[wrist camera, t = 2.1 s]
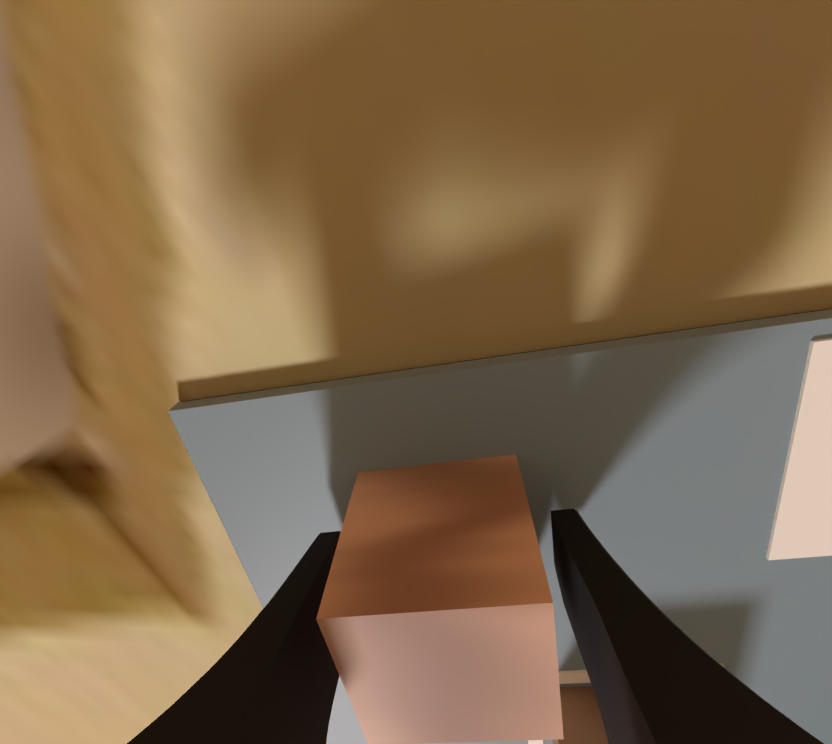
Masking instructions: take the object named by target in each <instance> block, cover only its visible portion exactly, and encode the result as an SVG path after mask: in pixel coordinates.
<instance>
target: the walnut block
mask: <svg viewBox="0 0 832 744" xmlns="http://www.w3.org/2000/svg"><path fill="white" fill-rule="evenodd" d="M560 698H561V711H562V724H563V737H564V739H558V740H553V744H609V743H608V740H607V736H606V732H605V728H604V724H603V720H602V717H601V713H600V710H599V706H598V703H597V700H596V697H595V693H594V691H593V688H592V686H584V687H561V688H560Z"/></svg>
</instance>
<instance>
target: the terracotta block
mask: <svg viewBox="0 0 832 744" xmlns="http://www.w3.org/2000/svg"><path fill="white" fill-rule="evenodd" d="M316 620H317V622H318V625H319V627H320V630H321V632H322V634H323V637H324V639H325V642H326V644H327V646H328V649H329V651H330V654H331V656H332V658H333V661H334V663H335V666H336V668H337V670H338V673H339V675H340V678H341V680H342V683H343V685H344V687H345V690H346V692H347V695H348V697H349V699H350V702H351V704H352V707H353V709H354V711H355V714H356V716H357V719H358V721H359V723H360V726H361V728H362V731H363V733H364V735H365V738H366V740H367V743H368V744H421V743H455V742H490V741H524V740H558V739H564V737H563V724H562V711H561V698H560V685H559V672H558V659H557V646H556V633H555V620H554V607H553V600H552V596H551V592H550V588H549V584H548V580H547V576H546V572H545V568H544V564H543V560H542V556H541V552H540V548H539V544H538V540H537V536H536V532H535V528H534V524H533V520H532V516H531V512H530V508H529V504H528V500H527V496H526V492H525V488H524V484H523V480H522V476H521V472H520V468H519V464H518V460H517V456H516V454H514V455H505V456H496V457H488V458H479V459H470V460H461V461H452V462H444V463H435V464H426V465H417V466H408V467H400V468H391V469H382V470H373V471H364V472H358V473H357V477H356V480H355V484H354V487H353V491H352V494H351V498H350V501H349V505H348V508H347V512H346V516H345V519H344V523H343V526H342V530H341V533H340V537H339V540H338V544H337V547H336V551H335V554H334V558H333V561H332V565H331V568H330V572H329V575H328V579H327V582H326V586H325V590H324V593H323V597H322V600H321V604H320V607H319V611H318V614H317V618H316Z"/></svg>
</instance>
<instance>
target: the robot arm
mask: <svg viewBox="0 0 832 744" xmlns="http://www.w3.org/2000/svg"><path fill="white" fill-rule="evenodd" d="M551 525H552V539H553V553H554V565H555V570H556V574H557V578H558V583H559V587H560V591H561V595H562V599H563V603H564V606H565V609H566V612H567V615H568V618H569V621H570V624H571V627H572V630H573V633H574V636H575V638H576V641H577V644H578V647H579V650H580V653H581V656H582V659H583V662H584V664H585V667H586V670H587V673H588V676H589V679H590V682H591V685H592V688H593V691H594V693H595V697H596V700H597V703H598V706H599V710H600V713H601V717H602V720H603V724H604V728H605V732H606V736H607V740H608V743H609V744H824V743H822V742H821V741H820V740H818V739H817V738H815V737H814V736H813V735H811V734H810V733H808V732H807V731H805V730H804V729H803V728H801V727H800V726H799V725H797V724H796V723H795V722H793V721H792V720H791V719H789V718H788V717H786V716H785V715H784V714H782V713H781V712H780V711H778V710H777V709H776V708H774V707H773V706H772V705H770V704H769V703H768V702H766V701H765V700H764V699H763V698H761V697H760V696H759V695H758V694H756V693H755V692H754V691H753V690H751V689H750V688H749V687H748V686H746V685H745V684H744V683H743V682H741V681H740V680H739V679H738V678H736V677H735V676H734V675H733V674H732V673H730V672H729V671H728V670H727V669H725V668H724V667H723V666H722V665H720V664H719V663H718V662H717V661H716V660H714V659H713V658H712V657H711V656H710V655H709V654H707V653H706V652H705V651H704V650H703V649H702V648H701V647H700V646H698V645H697V644H696V643H695V642H694V641H693V640H692V639H690V638H689V637H688V636H687V635H686V634H685V633H684V632H683V631H682V630H681V629H680V628H679V627H678V626H676V625H675V624H674V623H673V622H672V621H671V620H670V619H669V618H668V617H667V616H666V615H665V614H664V613H663V612H662V611H661V610H660V609H659V608H658V607H657V606H656V605H655V604H654V603H653V602H652V601H651V600H650V599H649V598H648V597H647V596H646V595H645V594H644V593H643V591H642V590H641V589H640V588H639V587H638V586H637V585H636V584H635V583H634V582H633V581H632V580H631V578H630V577H629V576H628V575H627V574H626V573H625V572H624V570H623V569H622V568H621V567H620V566H619V565H618V564H617V562H616V561H615V560H614V559H613V558H612V557H611V555H610V554H609V553H608V552H607V551H606V549H605V548H604V547H603V546H602V544H601V543H600V542H599V540H598V539H597V538H596V537H595V535H594V534H593V533H592V531H591V530H590V529H589V527H588V526H587V524H586V523H585V522H584V520H583V519H582V517H581V516H580V514H579V513H578V511H576V510H575V509H563V510H553V511H551ZM340 533H341V532H340V531H334V532H324V533H320V534H319V535H318V536H317V537H316V539H315V540H314V541H313V543H312V544H311V546H310V547H309V548H308V550H307V551H306V553H305V554H304V555H303V557H302V558H301V560H300V561H299V562H298V564H297V565H296V566H295V568H294V569H293V571H292V572H291V573H290V575H289V576H288V577H287V579H286V580H285V581H284V583H283V584H282V585H281V587H280V588H279V589H278V591H277V592H276V593H275V595H274V596H273V597H272V599H271V600H270V601H269V602H268V604H267V605H266V606H265V607H264V609H263V610H262V611H261V612H260V614H259V615H258V616H257V617H256V618H255V620H254V621H253V622H252V623H251V625H250V626H249V627H248V628H247V629H246V630H245V632H244V633H243V634H242V635H241V636H240V637H239V639H238V640H237V641H236V642H235V643H234V644H233V645H232V646H231V647H230V649H229V650H228V651H227V652H226V653H225V654H224V655H223V656H222V657H221V658H220V659H219V660H218V661H217V662H216V663H215V664H214V665H213V667H212V668H211V669H210V670H209V671H208V672H206V673H205V674H204V675H203V676H202V677H201V678H200V679H199V680H198V681H197V682H196V683H195V684H194V685H193V686H192V687H191V688H190V689H189V690H188V691H187V692H186V693H185V694H184V695H182V696H181V697H180V698H179V699H178V700H177V701H176V702H175V703H174V704H173V705H172V706H171V707H170V708H168V709H167V710H166V711H165V712H164V713H163V714H162V715H160V716H159V717H158V718H157V719H156V720H155V721H154V722H152V723H151V724H150V725H149V726H148V727H147V728H145V729H144V730H143V731H142V732H141V733H139V734H138V735H137V736H136V737H135V738H133V739H132V740H131V741H130V742H129V743H127V744H326V740H327V733H328V726H329V721H330V716H331V711H332V705H333V701H334V697H335V692H336V688H337V684H338V679H339V673H338V670H337V668H336V666H335V663H334V661H333V658H332V656H331V654H330V651H329V649H328V646H327V644H326V642H325V639H324V637H323V634H322V632H321V630H320V627H319V625H318V622H317V620H316V618H317V614H318V611H319V607H320V604H321V600H322V597H323V593H324V590H325V586H326V582H327V579H328V575H329V572H330V568H331V565H332V561H333V558H334V554H335V551H336V547H337V544H338V540H339V537H340Z"/></svg>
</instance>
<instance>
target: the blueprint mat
mask: <svg viewBox="0 0 832 744" xmlns="http://www.w3.org/2000/svg"><path fill="white" fill-rule="evenodd" d="M168 412H169V414H170V416H171V418H172V420H173V422H174V425H175V427H176V429H177V431H178V433H179V435H180V437H181V439H182V441H183V443H184V445H185V447H186V449H187V451H188V453H189V456H190V458H191V460H192V462H193V464H194V466H195V468H196V470H197V472H198V474H199V476H200V478H201V480H202V482H203V485H204V487H205V489H206V491H207V493H208V495H209V497H210V499H211V501H212V503H213V505H214V507H215V509H216V511H217V514H218V516H219V518H220V520H221V522H222V524H223V526H224V528H225V530H226V532H227V534H228V536H229V538H230V540H231V543H232V545H233V547H234V549H235V551H236V553H237V555H238V557H239V559H240V561H241V563H242V565H243V567H244V569H245V571H246V574H247V576H248V578H249V580H250V582H251V584H252V586H253V588H254V590H255V592H256V594H257V596H258V598H259V600H260V603H261V605H262V607H263V609H264V607H265V606H266V605H267V604H268V602H269V601H270V600H271V599H272V597H273V596H274V595H275V593H276V592H277V591H278V589H279V588H280V587H281V585H282V584H283V583H284V581H285V580H286V579H287V577H288V576H289V575H290V573H291V572H292V571H293V569H294V568H295V566H296V565H297V564H298V562H299V561H300V560H301V558H302V557H303V555H304V554H305V553H306V551H307V550H308V548H309V547H310V546H311V544H312V543H313V541H314V540H315V539H316V537H317V536H318V535H319V534H320V533H324V532H334V531H340V532H341V530H342V526H343V523H344V519H345V516H346V512H347V508H348V505H349V501H350V498H351V494H352V491H353V487H354V484H355V480H356V477H357V473H358V472H364V471H373V470H382V469H391V468H400V467H408V466H417V465H426V464H435V463H444V462H452V461H461V460H470V459H479V458H488V457H496V456H505V455H514V454H516V456H517V460H518V464H519V468H520V472H521V476H522V480H523V484H524V488H525V492H526V496H527V500H528V504H529V508H530V512H531V516H532V520H533V524H534V528H535V532H536V536H537V540H538V544H539V548H540V552H541V556H542V560H543V564H544V568H545V572H546V576H547V580H548V584H549V588H550V592H551V596H552V600H553V607H554V620H555V633H556V646H557V659H558V672H559V685H560V688H561V687H584V686H592V685H591V682H590V679H589V676H588V673H587V670H586V667H585V664H584V662H583V659H582V656H581V653H580V650H579V647H578V644H577V641H576V638H575V636H574V633H573V630H572V627H571V624H570V621H569V618H568V615H567V612H566V609H565V606H564V603H563V599H562V595H561V591H560V587H559V583H558V578H557V574H556V570H555V565H554V553H553V539H552V525H551V511H553V510H563V509H575V510H576V511H578V513H579V514H580V516H581V517H582V519H583V520H584V522H585V523H586V524H587V526H588V527H589V529H590V530H591V531H592V533H593V534H594V535H595V537H596V538H597V539H598V540H599V542H600V543H601V544H602V546H603V547H604V548H605V549H606V551H607V552H608V553H609V554H610V555H611V557H612V558H613V559H614V560H615V561H616V562H617V564H618V565H619V566H620V567H621V568H622V569H623V570H624V572H625V573H626V574H627V575H628V576H629V577H630V578H631V580H632V581H633V582H634V583H635V584H636V585H637V586H638V587H639V588H640V589H641V590H642V591H643V593H644V594H645V595H646V596H647V597H648V598H649V599H650V600H651V601H652V602H653V603H654V604H655V605H656V606H657V607H658V608H659V609H660V610H661V611H662V612H663V613H664V614H665V615H666V616H667V617H668V618H669V619H670V620H671V621H672V622H673V623H674V624H675V625H676V626H678V627H679V628H680V629H681V630H682V631H683V632H684V633H685V634H686V635H687V636H688V637H689V638H690V639H692V640H693V641H694V642H695V643H696V644H697V645H698V646H700V647H701V648H702V649H703V650H704V651H705V652H706V653H707V654H709V655H710V656H711V657H712V658H713V659H714V660H716V661H717V662H718V663H719V664H720V665H722V666H723V667H724V668H725V669H727V670H728V671H729V672H730V673H732V674H733V675H734V676H735V677H736V678H738V679H739V680H740V681H741V682H743V683H744V684H745V685H746V686H748V687H749V688H750V689H751V690H753V691H754V692H755V693H756V694H758V695H759V696H760V697H761V698H763V699H764V700H765V701H766V702H768V703H769V704H770V705H772V706H773V707H774V708H776V709H777V710H778V711H780V712H781V713H782V714H784V715H785V716H786V717H788V718H789V719H791V720H792V721H793V722H795V723H796V724H797V725H799V726H800V727H801V728H803V729H804V730H805V731H807V732H808V733H810V734H811V735H813V736H814V737H815V738H817V739H818V740H820V741H821V742H822V743H824V744H832V309H828V310H821V311H814V312H807V313H800V314H793V315H786V316H779V317H772V318H765V319H758V320H751V321H744V322H737V323H730V324H723V325H716V326H709V327H702V328H695V329H688V330H681V331H674V332H667V333H660V334H653V335H646V336H639V337H632V338H625V339H618V340H611V341H604V342H597V343H590V344H583V345H576V346H569V347H562V348H555V349H548V350H541V351H534V352H527V353H520V354H513V355H506V356H499V357H492V358H485V359H478V360H471V361H464V362H457V363H450V364H443V365H437V366H430V367H423V368H416V369H409V370H402V371H395V372H388V373H381V374H374V375H367V376H360V377H353V378H346V379H339V380H332V381H325V382H318V383H311V384H304V385H297V386H290V387H283V388H276V389H269V390H262V391H255V392H248V393H241V394H234V395H227V396H220V397H213V398H206V399H199V400H192V401H185V402H178V403H177V404H176V405H175V406H174V407H172V408H171V409H170V410H169V411H168ZM327 741H328V743H329V744H368V743H367V740H366V738H365V735H364V733H363V731H362V728H361V726H360V723H359V721H358V719H357V716H356V714H355V711H354V709H353V707H352V704H351V702H350V699H349V697H348V695H347V692H346V690H345V687H344V685H343V683H342V680H341V678H340V675H339V679H338V684H337V688H336V692H335V697H334V701H333V705H332V711H331V716H330V721H329V726H328V733H327ZM421 744H553V740H524V741H490V742H455V743H421Z"/></svg>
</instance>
